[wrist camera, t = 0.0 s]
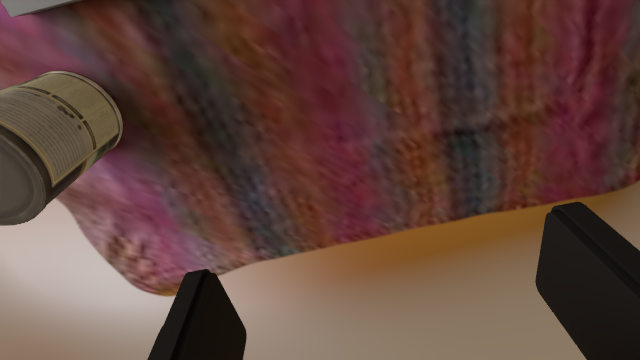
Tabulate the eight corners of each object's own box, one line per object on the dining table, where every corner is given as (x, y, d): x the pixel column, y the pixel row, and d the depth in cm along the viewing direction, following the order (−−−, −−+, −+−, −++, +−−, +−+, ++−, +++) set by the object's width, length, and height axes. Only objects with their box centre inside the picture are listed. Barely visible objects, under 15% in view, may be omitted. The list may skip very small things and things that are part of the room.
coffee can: (120, 165, 43) (45, 239, 31) (30, 138, 41) (-88, 206, 29) (128, 90, 38) (43, 143, 26) (27, 54, 36) (-118, 95, 24)
